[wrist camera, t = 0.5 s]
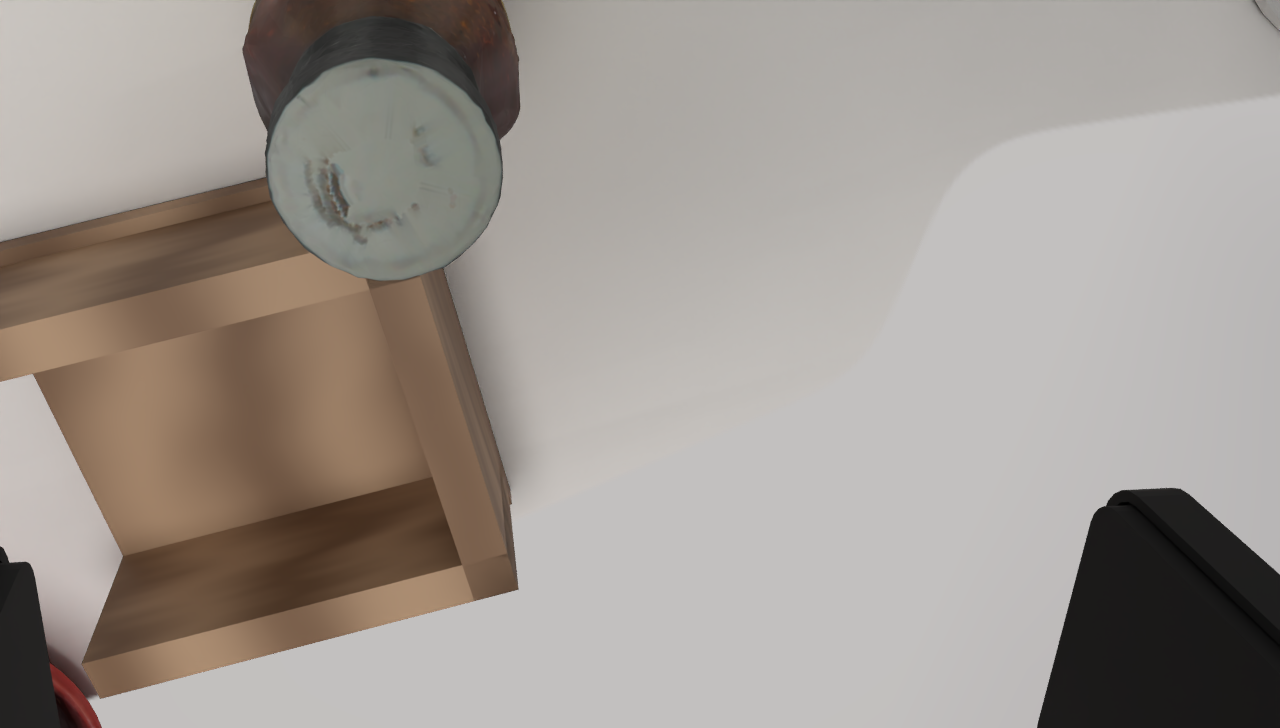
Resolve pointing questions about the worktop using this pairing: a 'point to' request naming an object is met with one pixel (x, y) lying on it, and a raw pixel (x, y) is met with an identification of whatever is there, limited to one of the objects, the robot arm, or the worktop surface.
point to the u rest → (255, 433)
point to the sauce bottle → (384, 125)
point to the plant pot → (72, 703)
